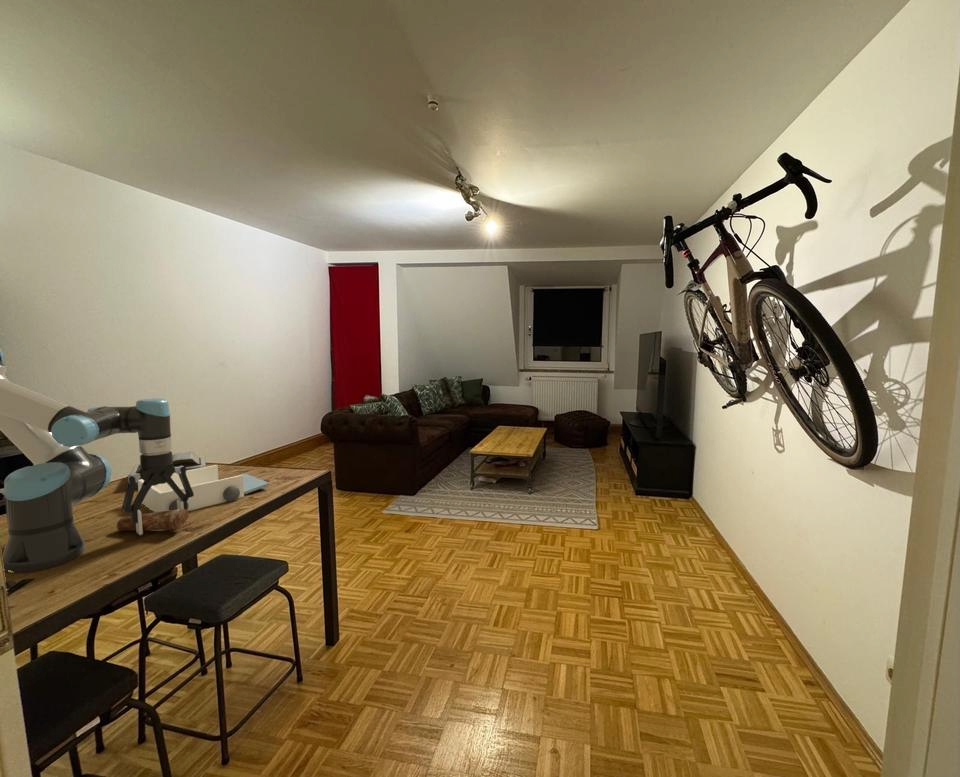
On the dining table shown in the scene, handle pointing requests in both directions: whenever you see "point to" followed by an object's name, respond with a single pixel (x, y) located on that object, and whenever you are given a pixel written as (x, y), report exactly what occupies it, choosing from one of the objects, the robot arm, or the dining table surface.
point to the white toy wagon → (195, 490)
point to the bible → (179, 463)
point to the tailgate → (252, 483)
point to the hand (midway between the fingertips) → (161, 527)
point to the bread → (156, 521)
